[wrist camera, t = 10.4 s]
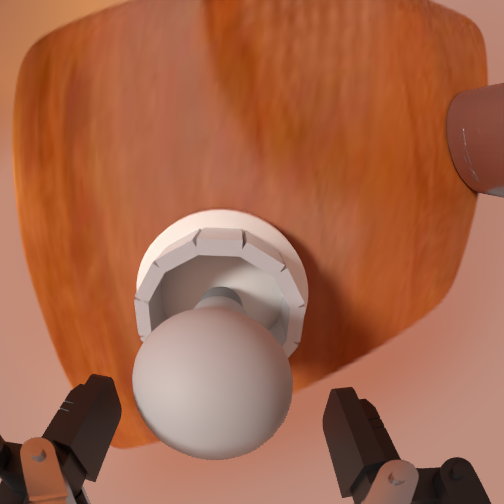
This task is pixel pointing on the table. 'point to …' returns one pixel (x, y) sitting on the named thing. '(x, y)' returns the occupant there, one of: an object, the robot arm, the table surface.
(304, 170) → the table surface
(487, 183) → the robot arm
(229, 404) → the lightbulb
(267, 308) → the lamp base
